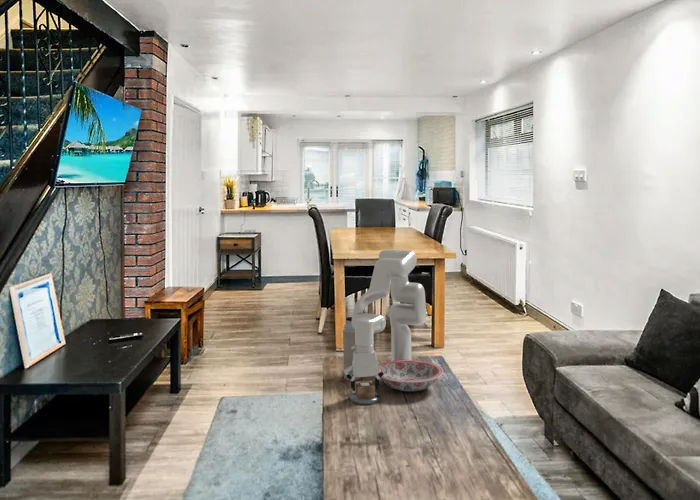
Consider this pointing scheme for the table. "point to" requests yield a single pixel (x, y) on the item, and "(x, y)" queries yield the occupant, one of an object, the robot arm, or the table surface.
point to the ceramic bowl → (410, 374)
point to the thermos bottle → (348, 346)
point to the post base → (365, 401)
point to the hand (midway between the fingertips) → (365, 388)
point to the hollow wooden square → (365, 390)
